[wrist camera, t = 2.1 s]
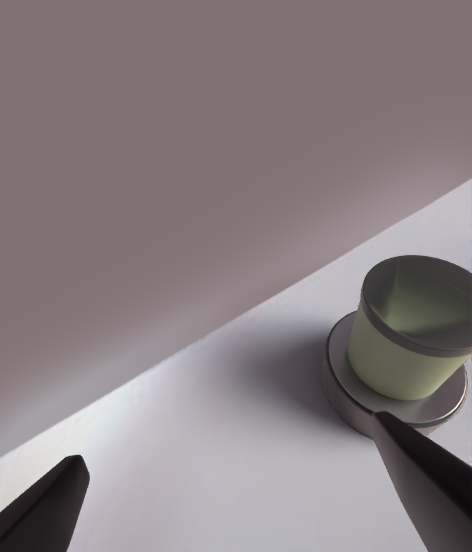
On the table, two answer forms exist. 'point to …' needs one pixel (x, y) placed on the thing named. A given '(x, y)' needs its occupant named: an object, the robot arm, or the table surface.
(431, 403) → the round container
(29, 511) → the robot arm
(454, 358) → the green lidded jar
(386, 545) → the table surface
